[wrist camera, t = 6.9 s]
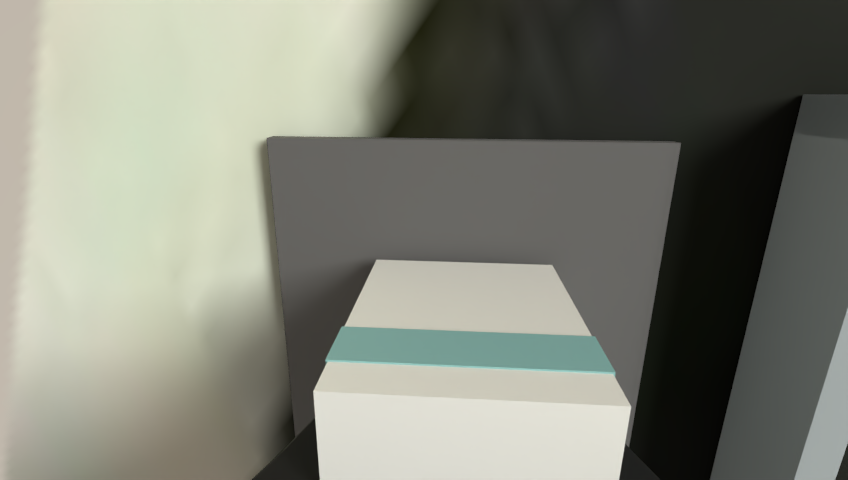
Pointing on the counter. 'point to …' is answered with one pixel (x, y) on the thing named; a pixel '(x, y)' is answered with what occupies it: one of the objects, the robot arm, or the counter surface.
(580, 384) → the carton
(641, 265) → the gray panel
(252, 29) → the counter surface
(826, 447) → the tray rim
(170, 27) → the counter surface
